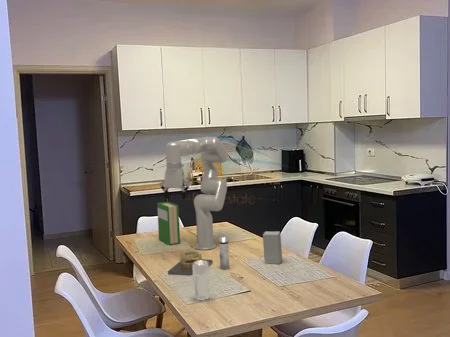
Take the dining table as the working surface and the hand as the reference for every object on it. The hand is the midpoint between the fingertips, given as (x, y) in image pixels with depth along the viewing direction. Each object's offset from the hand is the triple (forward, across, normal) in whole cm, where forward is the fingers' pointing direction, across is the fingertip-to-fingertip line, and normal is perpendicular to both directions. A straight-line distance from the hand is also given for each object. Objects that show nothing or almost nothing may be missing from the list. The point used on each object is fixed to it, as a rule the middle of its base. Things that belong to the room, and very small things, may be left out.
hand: (175, 199), depth 236 cm
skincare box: (+34, -49, -10) cm, 60 cm away
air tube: (+34, -28, +5) cm, 44 cm away
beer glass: (+34, -31, +45) cm, 65 cm away
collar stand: (+34, -11, +8) cm, 37 cm away
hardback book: (+34, +24, -40) cm, 57 cm away
